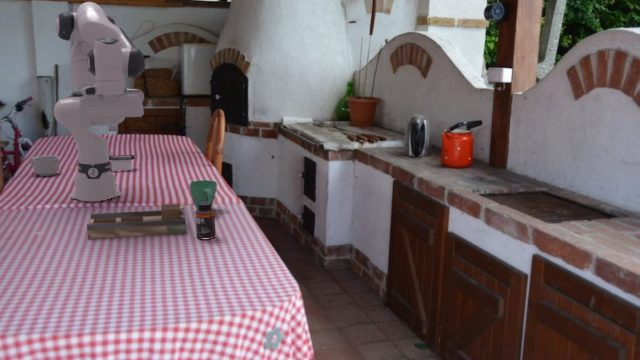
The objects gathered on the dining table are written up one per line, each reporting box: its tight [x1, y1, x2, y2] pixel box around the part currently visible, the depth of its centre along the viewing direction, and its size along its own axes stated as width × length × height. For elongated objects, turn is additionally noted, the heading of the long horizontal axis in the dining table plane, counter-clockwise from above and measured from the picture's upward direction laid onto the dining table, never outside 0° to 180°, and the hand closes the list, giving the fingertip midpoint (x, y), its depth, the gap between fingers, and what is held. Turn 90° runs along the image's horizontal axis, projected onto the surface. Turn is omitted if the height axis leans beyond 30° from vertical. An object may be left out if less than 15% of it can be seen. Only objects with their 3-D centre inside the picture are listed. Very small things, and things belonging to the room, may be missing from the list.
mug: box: [189, 179, 218, 211], centre depth 229 cm, size 15×10×10 cm
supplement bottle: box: [195, 202, 216, 239], centre depth 200 cm, size 6×6×11 cm
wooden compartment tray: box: [86, 207, 187, 240], centre depth 207 cm, size 13×30×5 cm, turn 104°
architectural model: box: [109, 152, 135, 172], centre depth 294 cm, size 20×25×10 cm
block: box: [160, 203, 181, 220], centre depth 208 cm, size 6×6×4 cm
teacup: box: [29, 154, 60, 177], centre depth 283 cm, size 14×11×8 cm
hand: (112, 130), depth 210 cm, fingers closed
